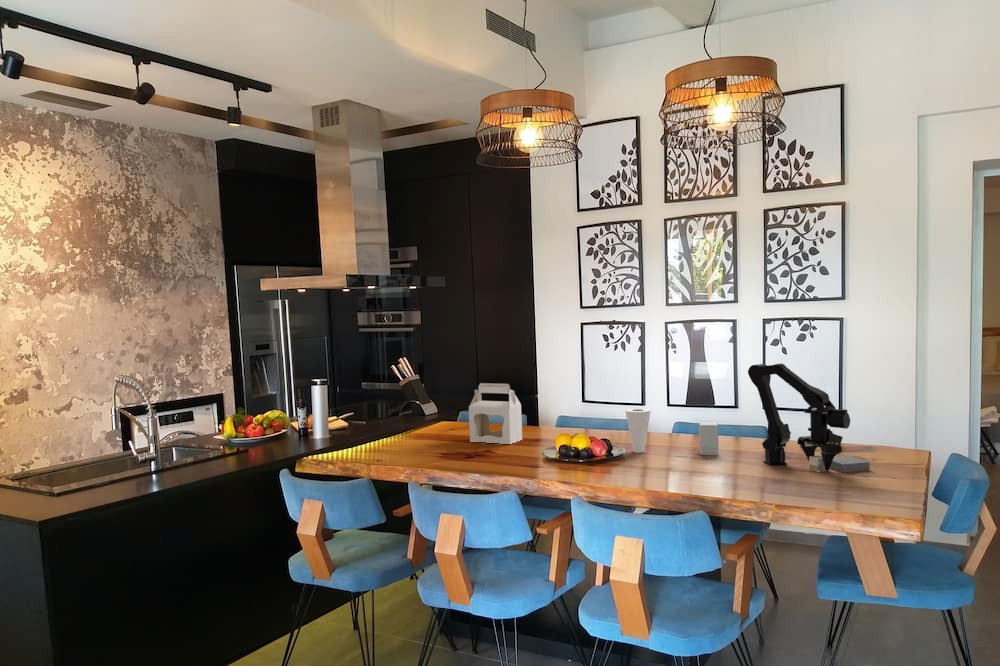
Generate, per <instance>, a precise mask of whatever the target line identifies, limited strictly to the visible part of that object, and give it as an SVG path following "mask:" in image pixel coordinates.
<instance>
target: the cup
mask: <svg viewBox="0 0 1000 666" xmlns="http://www.w3.org/2000/svg"><path fill="white" fill-rule="evenodd" d="M625 415H626V419H627V426H628V431H629V435H630V441H631V446H632V451H633V453H636V454H637V453H638V454H641V453H645V452H646V445H647V437H648V430H649V424H650V417H651V409H648V408H639V407H638V408H627V409H625Z"/></svg>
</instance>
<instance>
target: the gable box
mask: <svg viewBox="0 0 1000 666" xmlns="http://www.w3.org/2000/svg"><path fill="white" fill-rule="evenodd" d="M477 387H478V388H477V389H474V395H473V397H472V400H471V402H470V403H469V406H468V418H469V424H468V425H469V443H471V442H486V443H500V444H499V445H501V444H512V443H514V444H516V443H518V442H517V441H519V442H521V441H523V424H522V423H523V422H522V420H523V418H522V416H523V415H522V404H521V402H520V400H519V399H518V397H517V395H516V391H515V390H513V389H511V385H510V384H509V383H495V382H494V383H492V382H490V383H487V382H486V383H485V382H480V383H479V385H478V386H477ZM482 394H506V395H507V394H508V401H507V400H506V401H505V400H482ZM488 416H502V417H503V419H504V420H503V424H502V428H501V429H500V430H497V431H492V430H491V429H490V426H491V425H490V424H491V422H490V420H489V417H488ZM520 440H521V441H520ZM515 442H516V443H515ZM486 443H485V444H486ZM512 445H513V444H512Z"/></svg>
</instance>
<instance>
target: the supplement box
mask: <svg viewBox="0 0 1000 666" xmlns="http://www.w3.org/2000/svg"><path fill="white" fill-rule="evenodd" d="M698 439H699V440H698V442H699V443H698V446H699V448H698V449H699V453H700V455H701V456H719V455H720V452H719V449H720V448H719V425H718V423H717V422H698Z"/></svg>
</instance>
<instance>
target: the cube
mask: <svg viewBox="0 0 1000 666" xmlns="http://www.w3.org/2000/svg"><path fill="white" fill-rule="evenodd" d="M808 462H809V466H808V467H809V468H810V469H813V470H815V471H829V472H831V468H830V469H829V470H826V469H825V466H824V463H823V459H822V455H821V454H820V455H814V456H809V461H808ZM810 469H809V470H810ZM815 471H814V472H815Z"/></svg>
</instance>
